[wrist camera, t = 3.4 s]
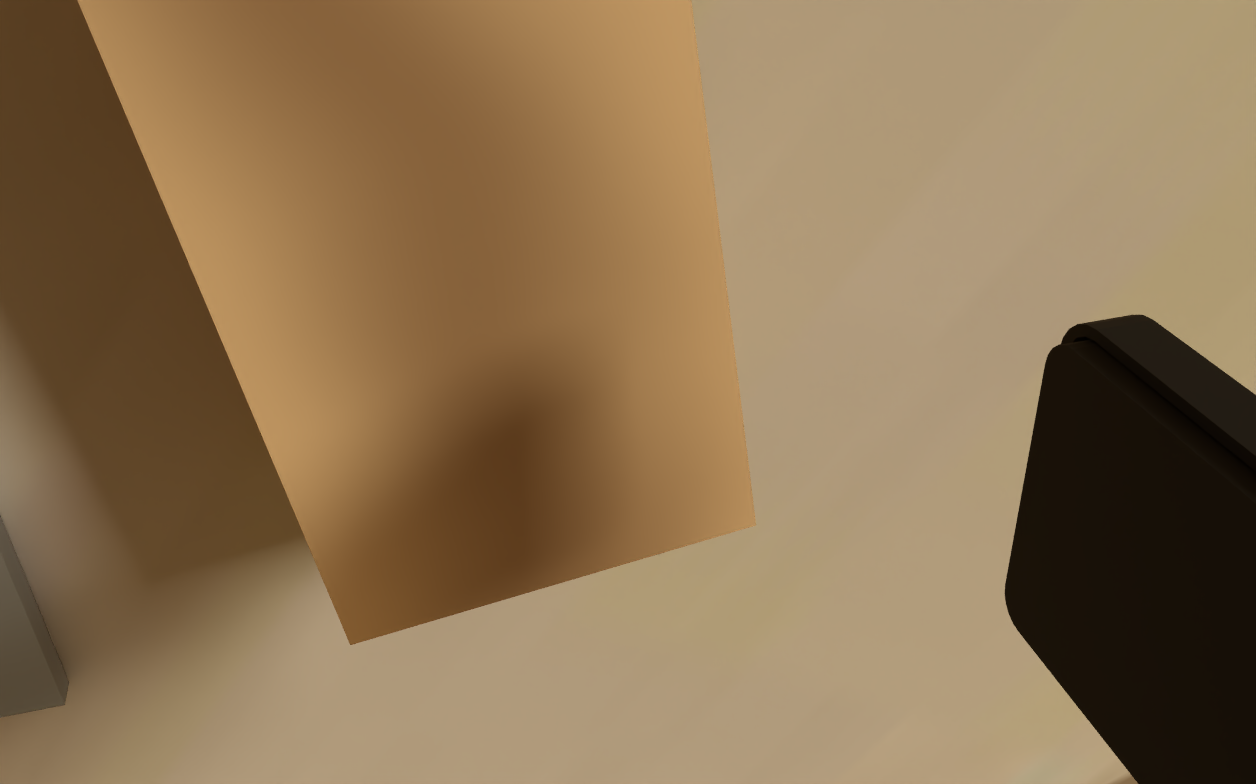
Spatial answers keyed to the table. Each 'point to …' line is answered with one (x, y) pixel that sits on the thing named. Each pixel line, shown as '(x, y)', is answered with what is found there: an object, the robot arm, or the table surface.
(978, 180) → the table surface
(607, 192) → the tan rectangular block
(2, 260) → the table surface
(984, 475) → the table surface
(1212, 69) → the table surface
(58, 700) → the mat
